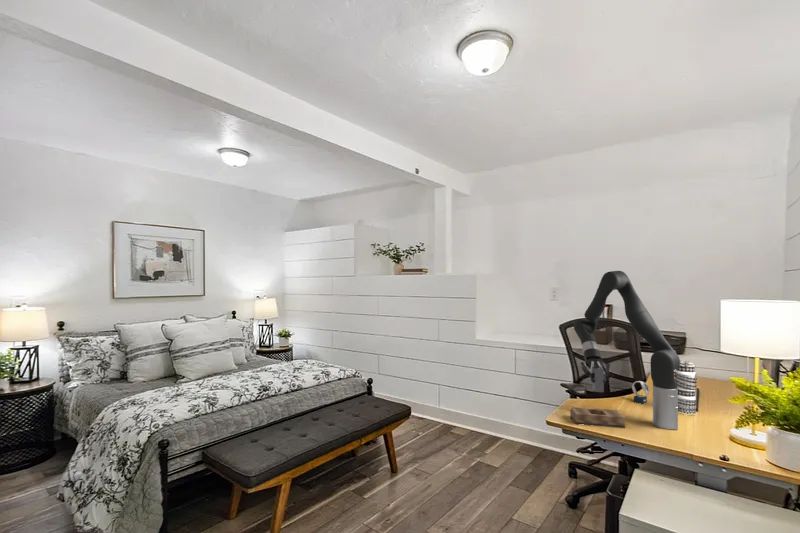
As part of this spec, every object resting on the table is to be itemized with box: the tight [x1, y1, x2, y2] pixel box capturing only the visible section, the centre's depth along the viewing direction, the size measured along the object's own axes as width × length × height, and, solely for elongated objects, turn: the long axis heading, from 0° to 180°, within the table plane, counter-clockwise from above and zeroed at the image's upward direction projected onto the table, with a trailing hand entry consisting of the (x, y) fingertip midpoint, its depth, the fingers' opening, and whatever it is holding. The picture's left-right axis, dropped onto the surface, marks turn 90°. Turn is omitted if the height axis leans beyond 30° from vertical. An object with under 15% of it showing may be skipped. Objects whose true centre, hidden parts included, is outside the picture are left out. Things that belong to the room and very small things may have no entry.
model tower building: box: [674, 360, 698, 414], centre depth 197 cm, size 9×9×25 cm
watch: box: [631, 380, 650, 405], centre depth 212 cm, size 6×8×11 cm
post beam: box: [570, 406, 626, 429], centre depth 180 cm, size 20×10×4 cm, turn 81°
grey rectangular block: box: [591, 367, 605, 393], centre depth 192 cm, size 4×4×11 cm
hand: (599, 382), depth 190 cm, fingers closed on grey rectangular block, 4 cm apart
